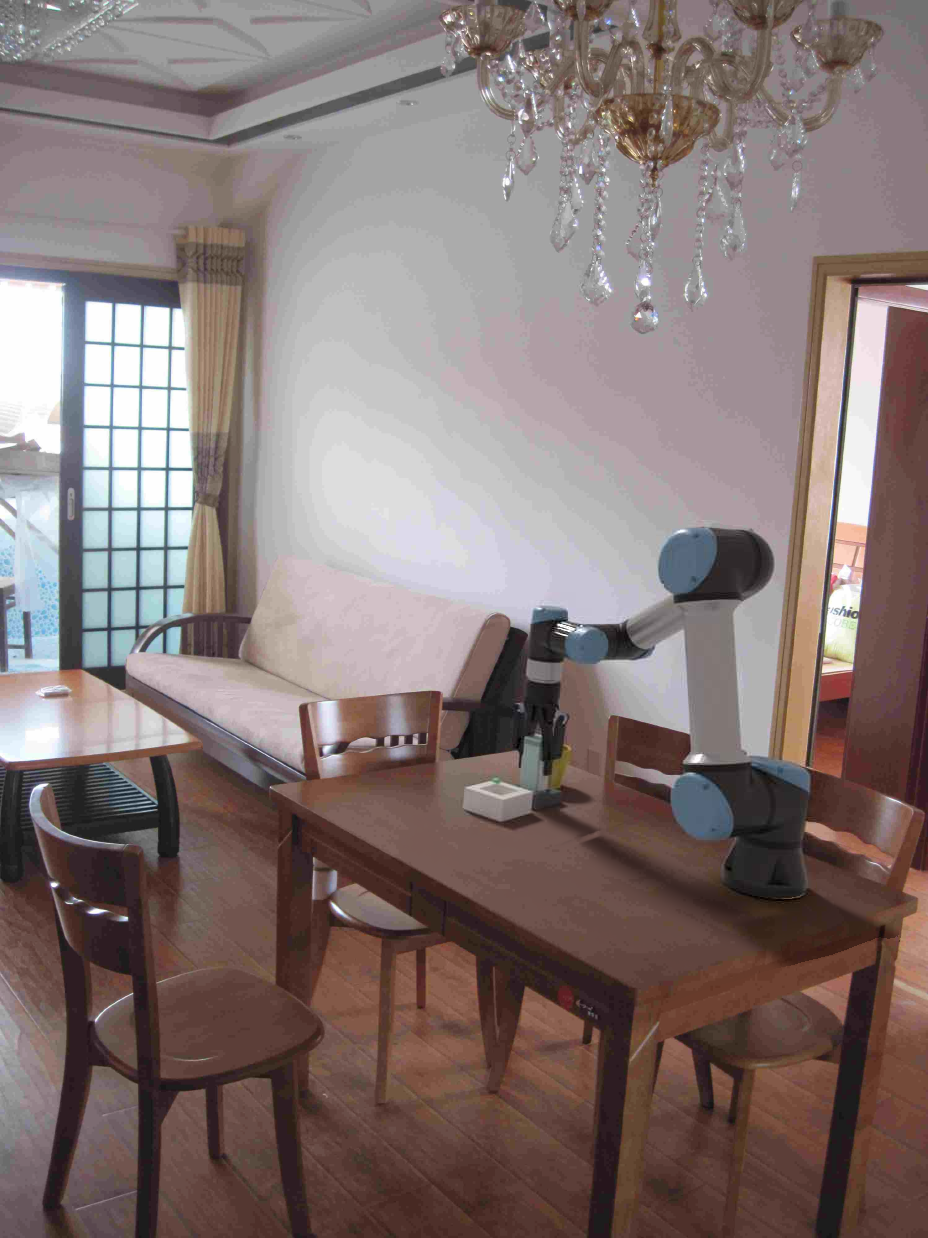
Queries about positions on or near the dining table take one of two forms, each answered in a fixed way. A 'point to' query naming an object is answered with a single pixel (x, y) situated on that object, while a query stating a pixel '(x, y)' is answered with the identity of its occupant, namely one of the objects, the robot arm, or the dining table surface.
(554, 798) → the dark grey square tray
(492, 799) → the box
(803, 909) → the dining table surface
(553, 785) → the plant pot
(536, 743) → the plug
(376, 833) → the dining table surface
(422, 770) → the dining table surface
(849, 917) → the dining table surface
